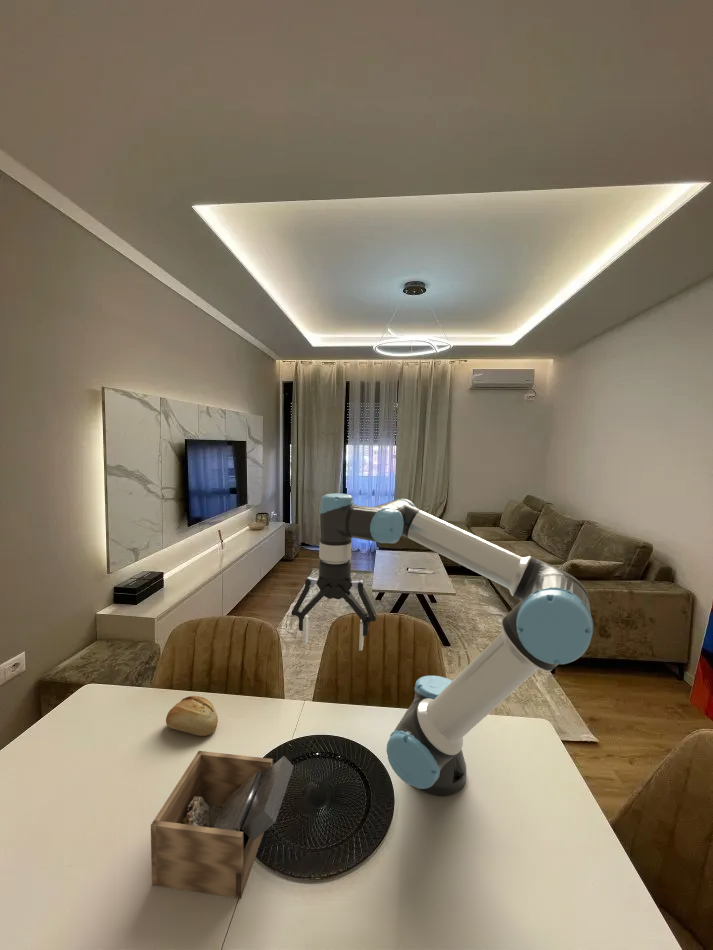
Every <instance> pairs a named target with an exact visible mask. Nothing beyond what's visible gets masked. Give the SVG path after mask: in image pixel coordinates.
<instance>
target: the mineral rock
mask: <svg viewBox="0 0 713 950" xmlns="http://www.w3.org/2000/svg"><path fill="white" fill-rule="evenodd" d="M209 810H210V806H209V805H208V804H206V803H205V802H204V799H203V798H202V797H196V796H195V797H194V798H193V800H192V801H191V802H190V804H189V806H188V808H187V817H185V818H184V819H183V821H182V824H187V825H194V826H202V827H210V826H211V821H210V819H211V818H210V811H209Z"/></svg>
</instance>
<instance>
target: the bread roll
mask: <svg viewBox="0 0 713 950" xmlns="http://www.w3.org/2000/svg"><path fill="white" fill-rule="evenodd" d="M218 721H219V719H218V714H217V711H216V709H215V707H214V705H213V703H212V701H210V700H209V699H207V698H205V697H203V696H199V695H198V696H197V695H190V696H186V697H184V698H182V699H181V700H180V701H179V702H177V703H175V705H174V706H172V707H171V709H169V711H168V712H167V715H166V717H165V723H166V725H167V727H168V728H170V729H172V730H173V729H174V730H175V731H179V732H183V733H189V734H191V735H195V736H199V737H206V736H209V735H212V734H213V733H214V732H215V731H216V730H217V728H218V727H217V726H218Z"/></svg>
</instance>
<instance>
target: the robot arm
mask: <svg viewBox="0 0 713 950" xmlns="http://www.w3.org/2000/svg"><path fill="white" fill-rule="evenodd" d="M319 528H320V529H319V546H318V547H319V548H318V549H319V550H318V551H319V552H318V553H319V554H318V555H319V556H318V557H319V559H320V560H319V562H318V578H315V577H313V576H311V575H308V576H307V578H306V579H305V581H304V582H305V583H304V587H303V590H302V592H301V594H300V595H299V597H298V599H297V601H296V603H295V605H294V606H293V608H292V610H291V612H290V614H291V616H294V617H295V616H296V617H297V618H298V631H299V632H302V647H306V646H307V644H308V641H309V621H310V620H309V618H310V616H309V614H308V613H309V612H310V611H311V610H312V609H313V608H314V607H315V606H316V605H317V604H318V603H319V602H320V601H321V600H322V599H323V597H325V598H327V599H329V600H330V599H334V600H335V599H336V600H341V599H343V600H344V601H345V602H346V603H347V604H348V605H349V607H351V609H352V611H354V612H355V614H356V615H357V616H358V618H359V619H360V621H359V622H360V623H359V640H358V641H359V643H358V651H363V649H364V648H363V647H364V640H365V639H364V637H368V635H369V625H370V624H369V623H371V622H376V620H377V612H376V610H375V607H374V606H373V603H372V602H371V599H370V597H369V595H368V593H367V590H366V589H365V581H364V579H363V578H360V579H358V580H352V578H351V572H352V561H351V558H352V539H356V540H357V539H358V540H364V541H369V542H370V541H371V542H376V543H380V544H396V543H397V542H399V541H400V538H401V537H402V536H403V537H405V538H407V539H409V540H412V541H414V542H416V543H417V544H419V545H422V546H424V547H425V548H427V549H429V550H431V551H433V552H435V553H436V554H437V553H438V554H440V555H441V556H443V557H445V558H447V559H450V560H451V561H453V562H454V563H457V564H459V565H461V566H463V567H464V568H466V569H469V570H471V571H472V572H475V573H477V574H479V575H481V576H483V577H484V578H486V579H489V580H490V581H492V582H494V583H497V584H499V585H501V586H502V587H504V588H506V589H508V591H509V593H510V595H511V596H512V597H514V598H515V599H518V600H519V603H517V604H516V605H515V606H514V607H513V609H511V610H510V612H509V613H508V614H506V615H505V616H504V617H503V618H502V620H501V621H500V622H501V630H502V631H501V633H500V634H498V636H497V637H495V638H494V639H493V641H491V643H490V644H488V645H487V647H485V648H484V650H482V652H480V653H479V655H477V656H476V658H474V659H473V660H472V661H471V662H470V663H469V664H468V666H466V667H465V668H464V669H463V670H462V671H461V672H460V673H459V674H458V675H457V676H456V677H455V678H454V679H450V678H447V677H445V676H441V675H440V676H439V675H423V676H421V677H419V678H418V679H417V680H416V682H415V685H414V688H413V689H414V698H413V701H412V702H411V704H410V705H409V707H408V708H407V710H406V711H405V714H404V715H403V716H402V718H401V719H400V721H399V722H398V723H397V725H396V727H395V728H394V730H393V731H392V732H391V734H390V735H389V738H388V741H387V744H386V750H385V751H386V755H387V760H388V763H389V765H390V767H391V769H392V770H393V772H394V773H395V774H396V776H397V777H398V778H400V780H402V781H403V782H404V783H405V784H407V785H408V786H413V787H415V788H416V789H418V790H420V791H422V792H424V793H426V794H430V795H433V796H441V797H443V796H445V797H446V796H451V795H453V794H456V793H458V792H460V791H461V790H462V789H463V787H464V786H465V784H466V780H467V763H466V760H465V756H464V753H463V750H462V749H463V746H464V739H463V738H464V737H465V736H466V735H467V734H468V733H469V732H470V731H471V730H472V729H474V727H475V726H477V725H478V724H479V723H480V722H482V720H484V718H486V717H487V716H489V714H490V713H491V712H492V711H494V710H495V709H496V708H497V707H498V706H499V705H500V704H501V703H502V702H504V700H506V699H507V698H509V696H510V695H511V694H512V693H514V692H515V691H516V690H517V689H518V688H519V687H520V686H521V685H523V684H524V682H526V681H527V680H528V679H529V678H531V676H532V675H533V674H535V673H536V672H537V671H543V672H547V673H548V672H551V671H553V670H554V669H555V668H556V667H557V666H558V665H567V664H570V663H572V662H575V661H577V660H578V659H580V658H581V657H582V656H583V655H584V654H585V652H586V651H587V650H588V649H589V647H590V644H591V642H592V637H593V633H594V622H593V617H592V612H591V611H592V610H591V600H590V596H589V593H588V591H587V590H586V587H585V586H584V585H583V584H582V583H581V582H580V580H578V579H577V578H576V577H574V576H573V575H572V574H569V573H568V572H567V571H565V570H562V569H560V568H558V567H556V566H553V565H552V564H549V563H548V562H544V561H542V560H541V559H538V558H536V557H535V556H532V555H528V556H523V557H522V556H520V555H518V554H516V553H514V552H511V551H509V550H508V549H505V548H503V547H502V546H499V545H497V544H495V543H492V542H490V541H488V540H485V539H484V538H481V537H480V536H477V535H475V534H473V533H471V532H468V531H467V530H464V529H462V528H460V527H458V526H455V525H454V524H452V523H449V522H447V521H445V520H442V519H440V518H438V517H436V516H434V515H432V514H429V513H427V512H426V511H423V510H421V509H419V508H417V506H416V505H415V504H414V503H413V502H412V500H410V499H407V498H396V499H392V500H390V501H387V502H385V503H381V504H379V505H375V506H367V505H360V504H359V505H357V504H354V500H353V496H352V495H350V494H347V493H335V492H334V493H327V494H324V495H323V496H322V497H321V499H320V510H319ZM315 585H317V587H318V589H319V591H318V592H317V593H316V595H315V596H314V597H313V598H312V599H311V600H310V601H309V602H308V603H307V604H306V605H305V606H304V607H303V608H302V609H300V608H301V606H302V605H303V603H304V600H305V599H306V597H307V595H308V593H309V591H310V590H311V589H312V588H313V587H314V586H315ZM352 587H353V588H354V590H355V591H357V592H358V595H359V598H360V600H361V602H362V604H363V606H364V608H363V607H362V605H361V604H360V603H359V602H358V600H357V599H356V598H355V596H354V595H353V593H352V592H351V591H350V590H351V589H352Z"/></svg>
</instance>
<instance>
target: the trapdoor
mask: <svg viewBox="0 0 713 950" xmlns="http://www.w3.org/2000/svg"><path fill="white" fill-rule="evenodd" d="M294 768H295V767H294V764H292V762H291V761H290V760H288V758H287V757H286V756H285V755H283V756H282V757H281V758H280V759H278V760H277V761H276V762H275V763H274V764H273V766H272V767H270V768H269V769H268V770H267V771H266V772H265V773H264V775H263V778H262V780H261V783H260V785H259V788H258V790H257V793H256V795H255V797H254V800H253V802H252V805H251V807H250V810H248V809H249V806H250V804H251V801H252V799H253V796H254V794H255V792H256V789H257V787H258V784H259V782H260V779H261V777H262V774H263V773H262V771H260V770H258V771H257V772H256V773H255V774H254V775H253V776H251V777H250V778H249V779H248V780H247V781H246V782H244V783H243V784H242V785H241V786H240V787H239V788H238V789H236V790H235V791H234V792H233V793H232V794H231V795H229V796H228V798H227V800H226V802H225V804H224V806H223V807H221V811H220V812H219V815H218V816H217V818H216V821H215V823H214V825H213V827H212V828H217V829H225V830H232V831H240V830H242V832H243V833H244V834H245V835H246V836H248V839H249V838H250V839H251V840H252V841H254V840H255V839H256V838H257V837H258V836H260V835H261V834H262V833H263V832H264V833H265V831H267V830H268V829H270V828H271V827H272V826H273V825H274V824H276V821H277V818H278V815H279V812H280V809H281V806H282V803H283V800H284V797H285V794H286V792H287V787H288V784H289V781H290V779H291V775H292V773H293V770H294Z"/></svg>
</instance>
